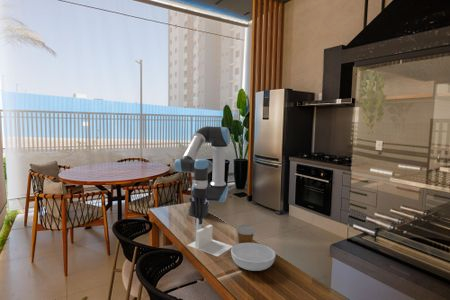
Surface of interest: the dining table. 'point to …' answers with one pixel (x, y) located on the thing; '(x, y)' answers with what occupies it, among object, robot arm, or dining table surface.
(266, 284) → the dining table surface
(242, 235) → the disposable coffee cup
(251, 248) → the serving bowl
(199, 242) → the tile
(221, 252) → the mat
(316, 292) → the dining table surface
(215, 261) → the dining table surface
